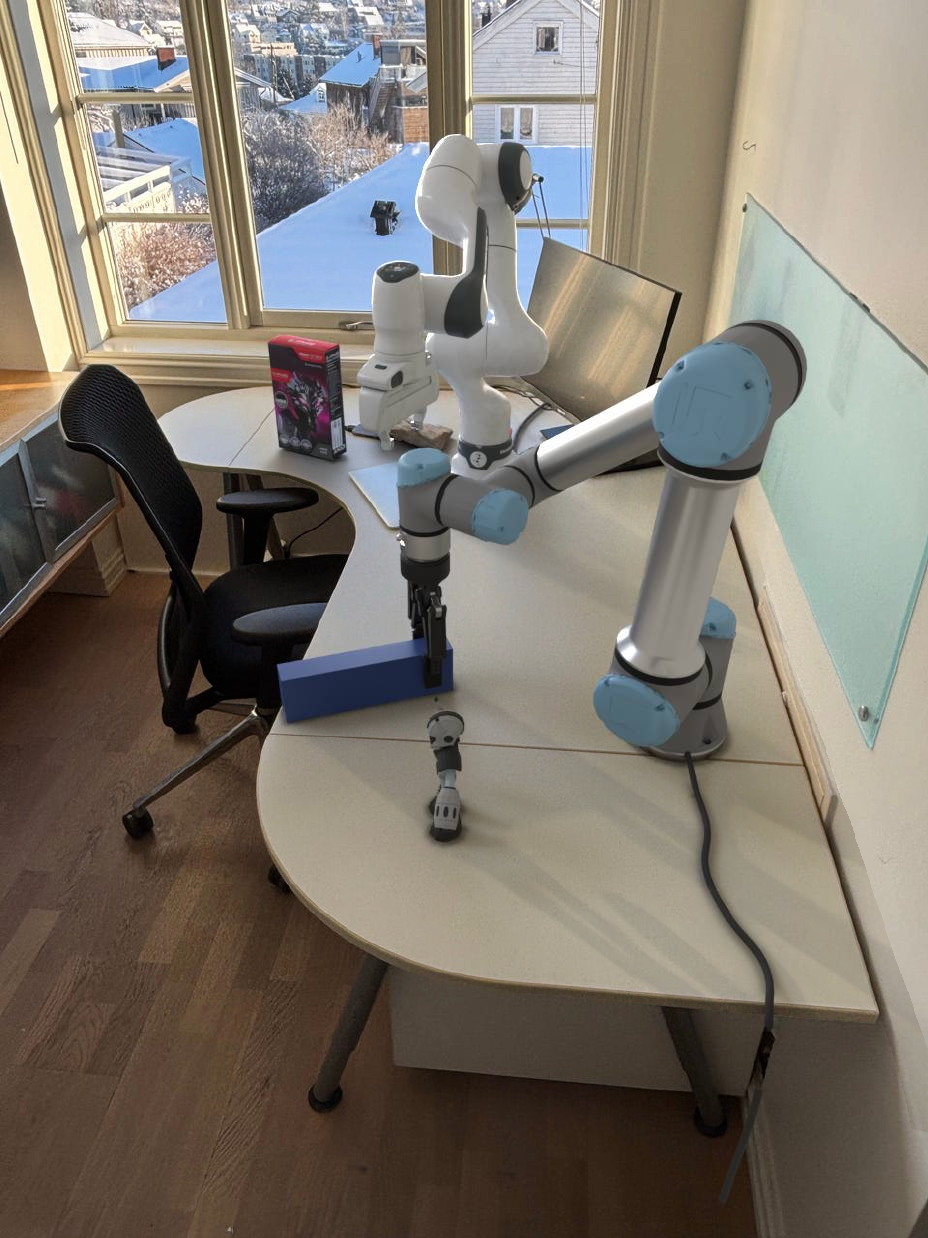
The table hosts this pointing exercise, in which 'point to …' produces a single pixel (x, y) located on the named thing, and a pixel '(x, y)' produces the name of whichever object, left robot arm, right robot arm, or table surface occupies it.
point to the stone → (421, 434)
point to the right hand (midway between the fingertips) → (427, 674)
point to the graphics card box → (308, 395)
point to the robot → (446, 772)
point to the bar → (357, 679)
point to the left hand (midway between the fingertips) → (402, 439)
